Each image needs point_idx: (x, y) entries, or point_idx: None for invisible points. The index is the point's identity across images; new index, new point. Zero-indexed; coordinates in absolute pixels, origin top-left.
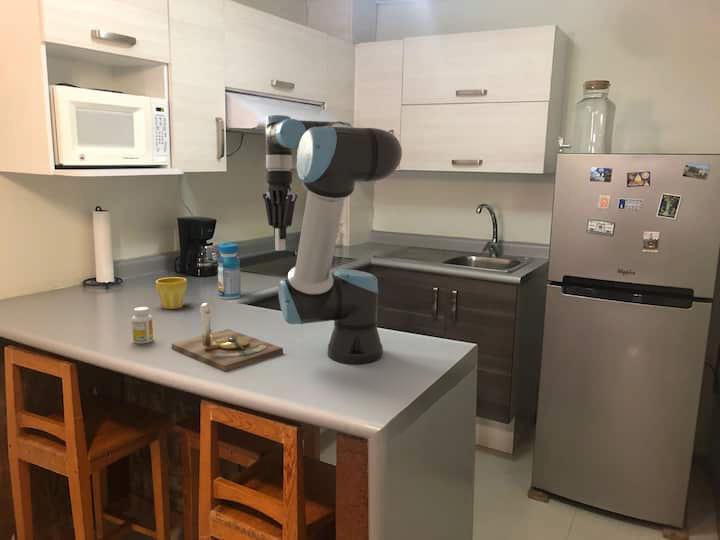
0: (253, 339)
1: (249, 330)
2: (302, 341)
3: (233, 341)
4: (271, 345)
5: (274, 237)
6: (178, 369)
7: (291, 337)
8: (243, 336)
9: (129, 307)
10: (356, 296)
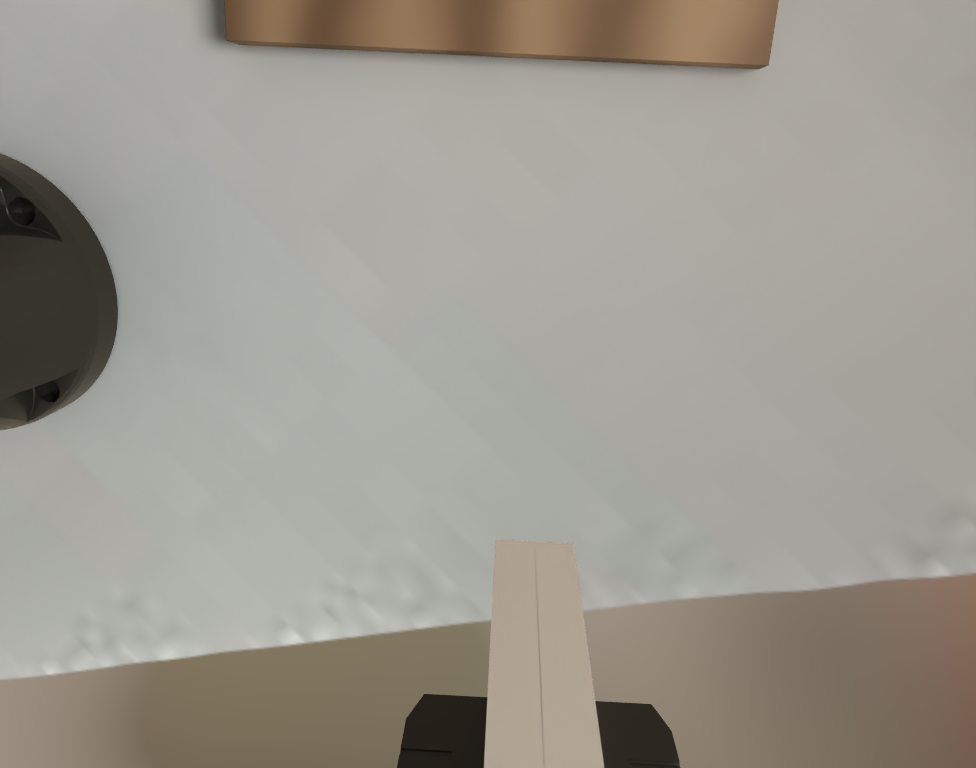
0: (475, 28)
1: (704, 212)
2: (320, 269)
3: None
4: (308, 25)
5: (657, 720)
6: None
7: (415, 280)
8: (570, 26)
9: None
10: None
